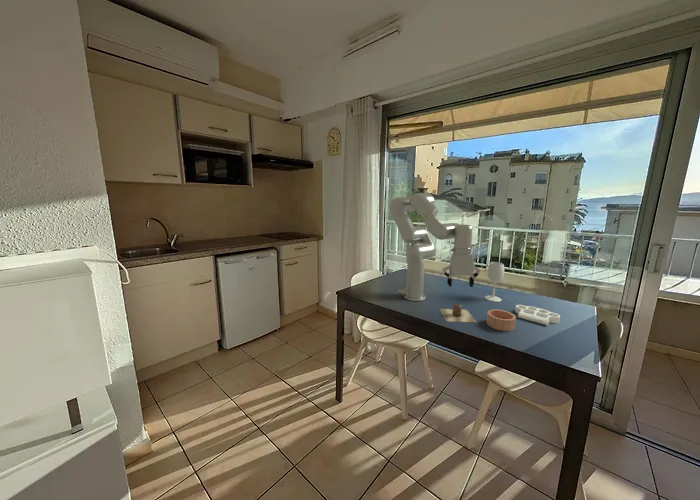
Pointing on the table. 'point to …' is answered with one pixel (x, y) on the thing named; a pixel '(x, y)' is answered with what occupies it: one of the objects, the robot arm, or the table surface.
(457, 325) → the table surface
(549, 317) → the white compartment tray
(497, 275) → the wineglass
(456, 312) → the lid
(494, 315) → the bowl
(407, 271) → the robot arm
